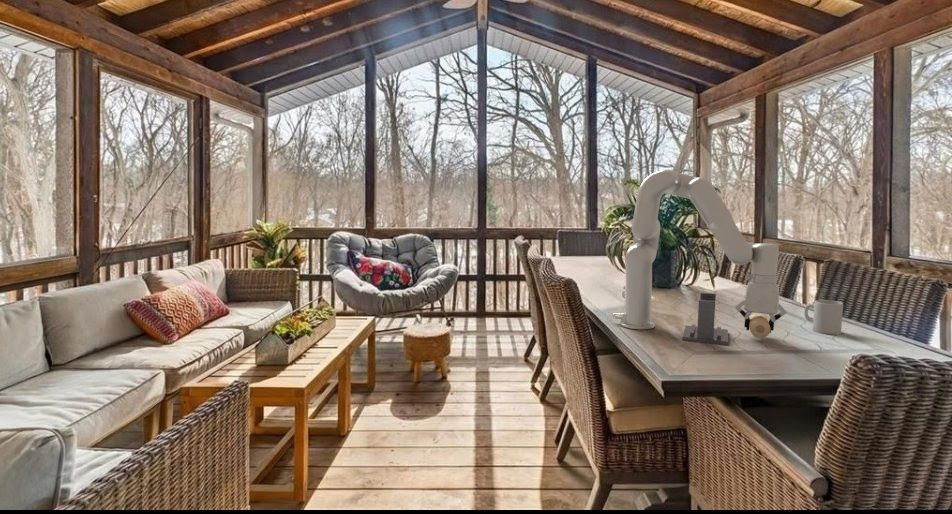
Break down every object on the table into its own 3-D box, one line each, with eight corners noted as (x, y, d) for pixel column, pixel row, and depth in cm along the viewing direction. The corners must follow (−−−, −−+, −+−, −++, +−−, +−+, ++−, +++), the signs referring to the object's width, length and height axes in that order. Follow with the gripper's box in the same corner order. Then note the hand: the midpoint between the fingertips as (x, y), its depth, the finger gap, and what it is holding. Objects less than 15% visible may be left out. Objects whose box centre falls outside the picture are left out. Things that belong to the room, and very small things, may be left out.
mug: (845, 332, 180) (847, 302, 178) (834, 336, 175) (836, 305, 174) (809, 325, 190) (811, 297, 188) (797, 328, 185) (799, 299, 184)
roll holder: (682, 340, 171) (684, 299, 169) (685, 328, 186) (687, 291, 184) (728, 345, 164) (730, 303, 163) (727, 332, 180) (729, 294, 178)
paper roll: (769, 339, 165) (771, 321, 164) (749, 336, 167) (750, 319, 166) (766, 330, 175) (768, 313, 175) (747, 328, 178) (749, 311, 177)
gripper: (734, 278, 169) (730, 330, 172) (794, 283, 162) (788, 337, 164) (734, 275, 176) (730, 325, 178) (791, 280, 168) (786, 331, 171)
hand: (758, 330), depth 171 cm, fingers closed on paper roll, 5 cm apart
